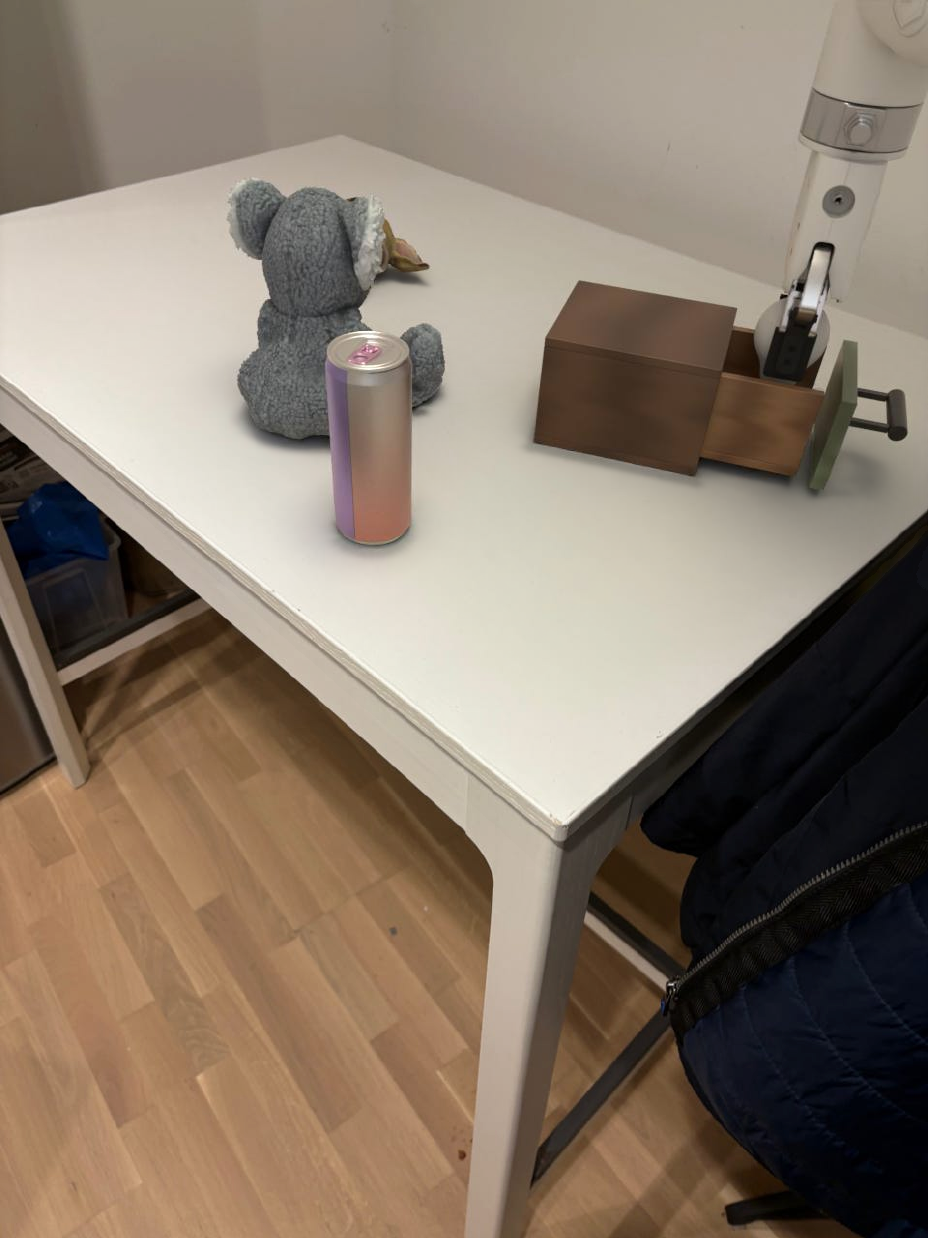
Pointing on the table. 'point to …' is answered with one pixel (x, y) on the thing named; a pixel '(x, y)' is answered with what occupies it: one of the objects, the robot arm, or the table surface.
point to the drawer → (790, 413)
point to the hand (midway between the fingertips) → (784, 357)
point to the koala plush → (312, 299)
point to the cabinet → (632, 375)
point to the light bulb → (773, 320)
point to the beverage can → (370, 434)
